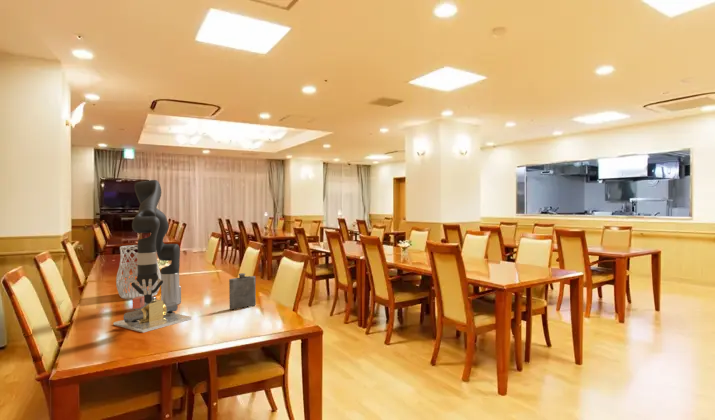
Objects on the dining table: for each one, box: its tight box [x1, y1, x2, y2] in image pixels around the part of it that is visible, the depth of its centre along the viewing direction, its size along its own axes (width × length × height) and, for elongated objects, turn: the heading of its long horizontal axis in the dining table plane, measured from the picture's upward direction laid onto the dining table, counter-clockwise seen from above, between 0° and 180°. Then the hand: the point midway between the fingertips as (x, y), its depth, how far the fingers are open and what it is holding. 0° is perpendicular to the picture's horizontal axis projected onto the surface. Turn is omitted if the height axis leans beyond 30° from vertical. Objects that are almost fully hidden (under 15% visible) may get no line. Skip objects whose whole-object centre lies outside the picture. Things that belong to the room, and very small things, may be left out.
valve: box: [113, 298, 192, 333], centre depth 195 cm, size 24×23×10 cm
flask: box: [228, 272, 257, 310], centre depth 222 cm, size 4×14×18 cm, turn 129°
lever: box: [132, 295, 157, 311], centre depth 186 cm, size 21×4×5 cm, turn 9°
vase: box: [115, 244, 161, 300], centre depth 254 cm, size 24×24×30 cm
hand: (148, 303), depth 179 cm, fingers closed
